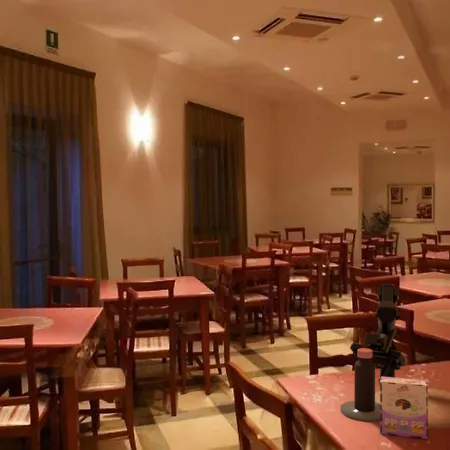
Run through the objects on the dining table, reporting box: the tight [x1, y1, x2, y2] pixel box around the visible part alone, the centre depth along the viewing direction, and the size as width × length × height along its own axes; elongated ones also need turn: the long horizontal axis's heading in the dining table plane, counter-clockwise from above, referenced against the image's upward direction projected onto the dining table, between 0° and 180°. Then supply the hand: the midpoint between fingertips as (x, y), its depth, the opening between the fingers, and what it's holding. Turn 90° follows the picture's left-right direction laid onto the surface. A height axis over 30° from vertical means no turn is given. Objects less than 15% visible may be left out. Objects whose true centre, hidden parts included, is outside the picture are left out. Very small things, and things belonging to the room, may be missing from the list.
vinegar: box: [353, 347, 376, 412], centre depth 181 cm, size 7×7×20 cm
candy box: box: [379, 376, 429, 440], centre depth 164 cm, size 14×6×16 cm, turn 71°
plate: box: [339, 400, 380, 422], centre depth 181 cm, size 16×16×1 cm
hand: (368, 375), depth 183 cm, fingers open, 9 cm apart
